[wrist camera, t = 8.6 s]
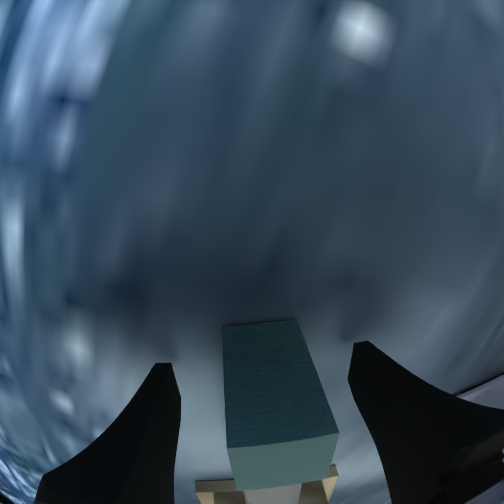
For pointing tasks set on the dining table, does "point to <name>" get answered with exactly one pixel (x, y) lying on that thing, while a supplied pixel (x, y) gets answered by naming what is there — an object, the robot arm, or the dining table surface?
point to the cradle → (230, 500)
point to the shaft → (274, 412)
